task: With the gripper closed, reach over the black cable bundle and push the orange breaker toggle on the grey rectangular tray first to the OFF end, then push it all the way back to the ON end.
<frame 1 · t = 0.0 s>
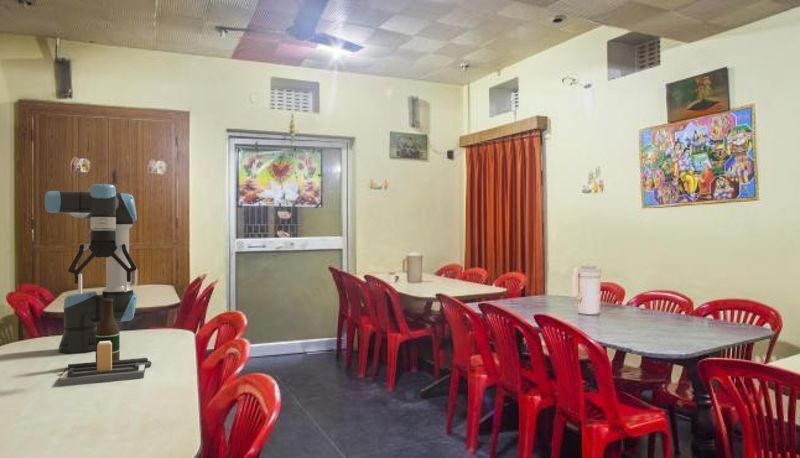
hand: (103, 292, 184), 28 cm above the table, fingers open, 13 cm apart
breaker toggle: (104, 356, 182), point 7 cm above the table, slide at 0.0 cm
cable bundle: (107, 370, 191), on the table
beer bottle: (107, 364, 200), on the table
grey rectangular tray: (104, 377, 182), on the table
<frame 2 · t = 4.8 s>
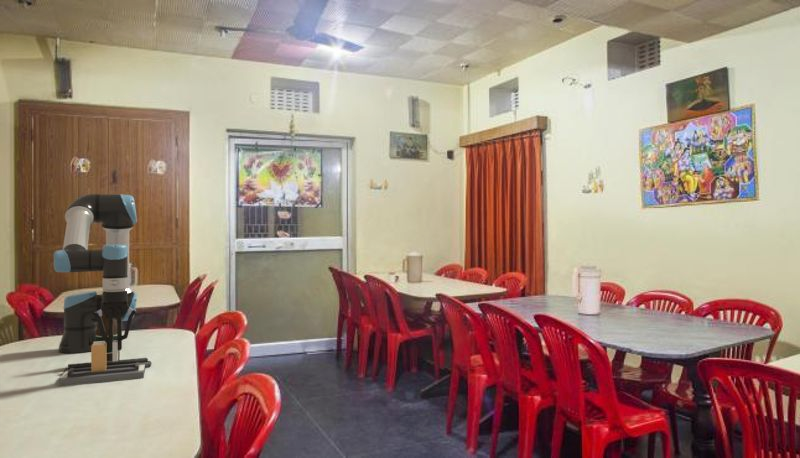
hand: (115, 360, 183), 5 cm above the table, fingers closed
breaker toggle: (98, 356, 181), point 7 cm above the table, slide at -1.7 cm, touching gripper
everything else where it was.
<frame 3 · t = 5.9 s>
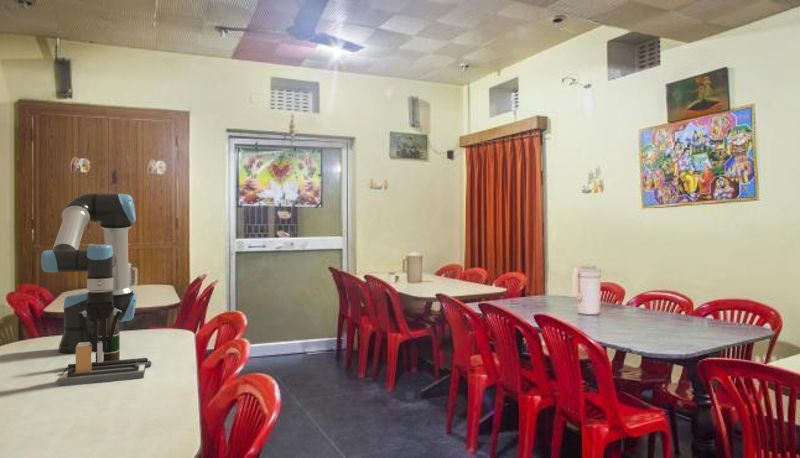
hand: (100, 361, 181), 5 cm above the table, fingers closed
breaker toggle: (83, 358, 179), point 7 cm above the table, slide at -6.1 cm, touching gripper
everything else where it was.
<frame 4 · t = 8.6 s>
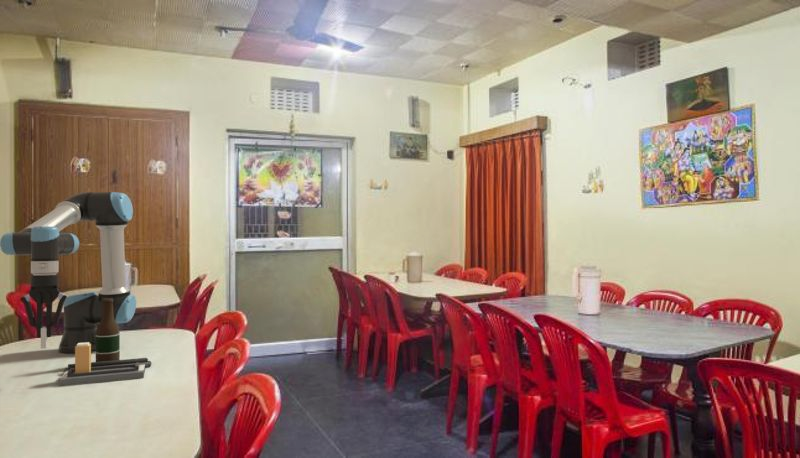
hand: (44, 347, 175), 11 cm above the table, fingers closed
breaker toggle: (83, 358, 179), point 7 cm above the table, slide at -6.3 cm
everything else where it was.
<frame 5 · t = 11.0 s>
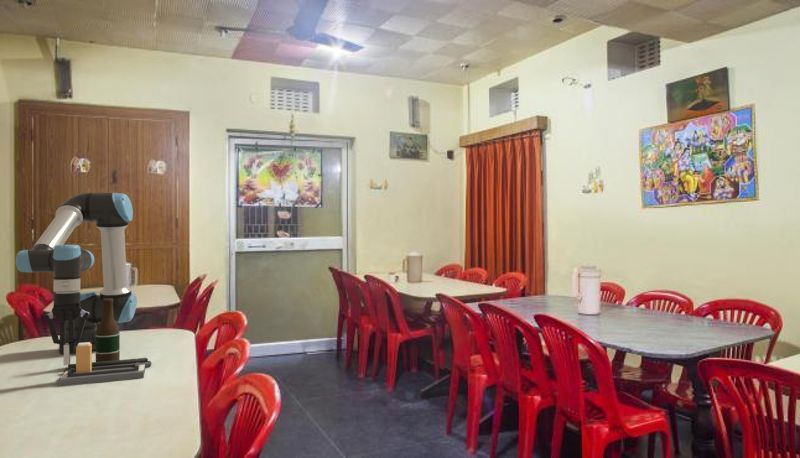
hand: (67, 364, 178), 5 cm above the table, fingers closed
breaker toggle: (83, 358, 179), point 7 cm above the table, slide at -6.0 cm, touching gripper
everything else where it was.
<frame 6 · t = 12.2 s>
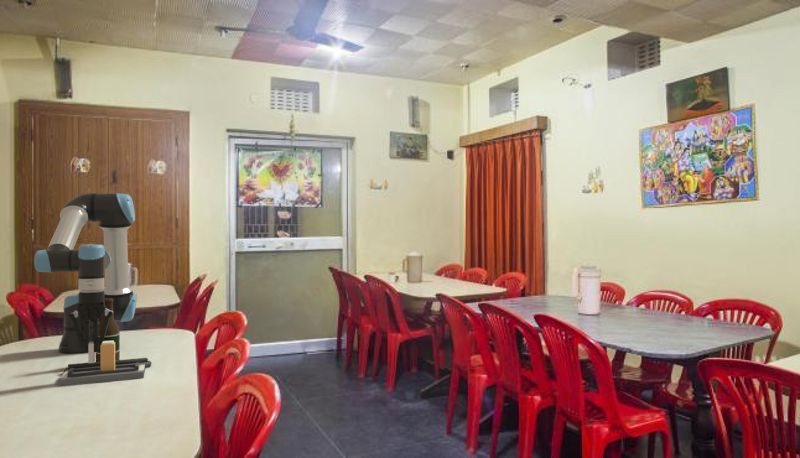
hand: (91, 362, 180), 5 cm above the table, fingers closed
breaker toggle: (107, 356, 182), point 7 cm above the table, slide at 1.0 cm, touching gripper
everything else where it was.
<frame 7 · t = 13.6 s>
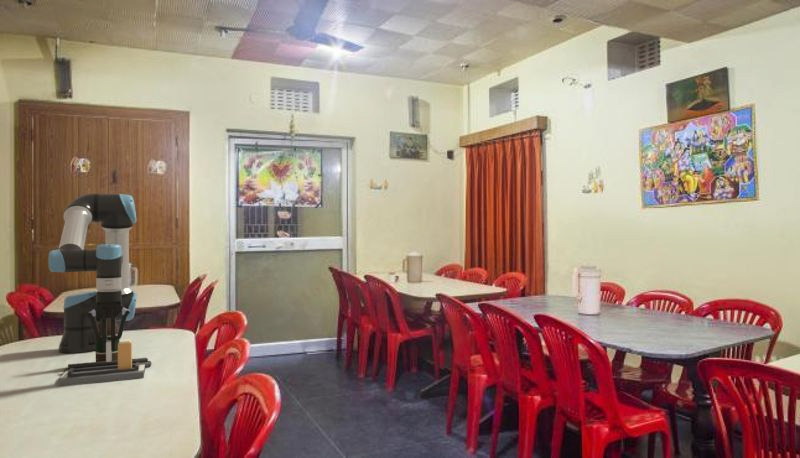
hand: (109, 360, 182), 5 cm above the table, fingers closed
breaker toggle: (125, 354, 184), point 7 cm above the table, slide at 6.1 cm, touching gripper
everything else where it was.
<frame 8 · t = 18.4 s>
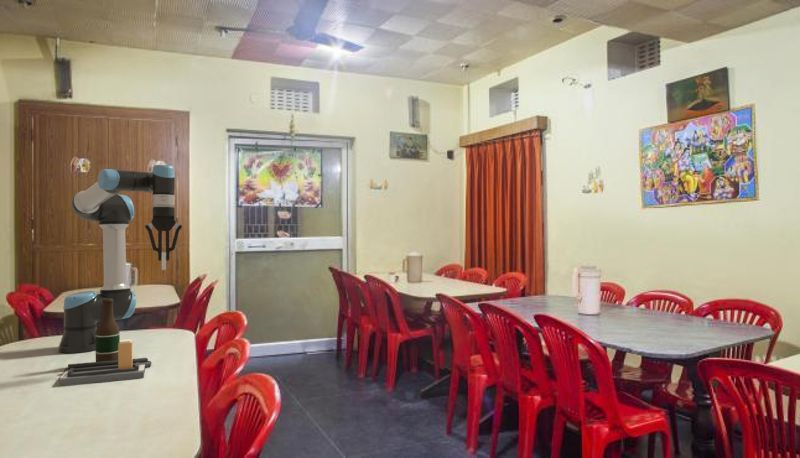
hand: (163, 269, 203), 34 cm above the table, fingers closed
breaker toggle: (125, 354, 184), point 7 cm above the table, slide at 6.2 cm
everything else where it was.
at the end: breaker toggle slide at 6.2 cm; breaker toggle touching nothing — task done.
